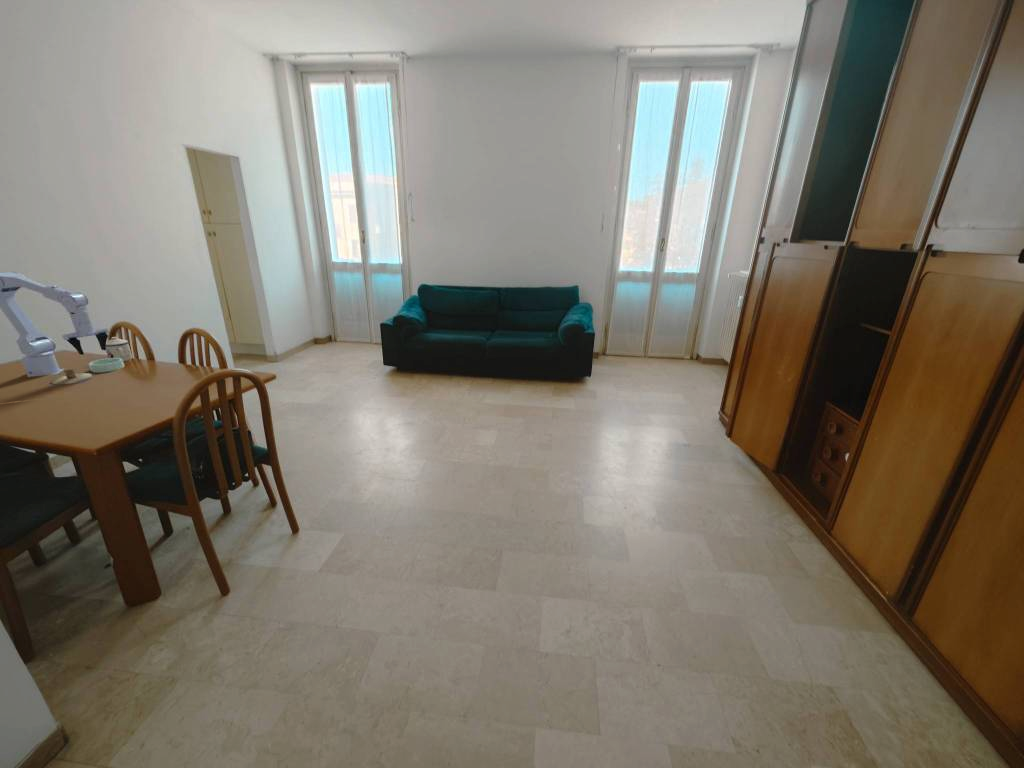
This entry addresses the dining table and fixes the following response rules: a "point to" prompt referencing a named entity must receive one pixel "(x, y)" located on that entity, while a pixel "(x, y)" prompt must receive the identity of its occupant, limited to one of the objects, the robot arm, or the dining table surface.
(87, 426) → the dining table surface
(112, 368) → the bowl
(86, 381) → the mat
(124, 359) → the teacup with lid
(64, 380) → the lid
